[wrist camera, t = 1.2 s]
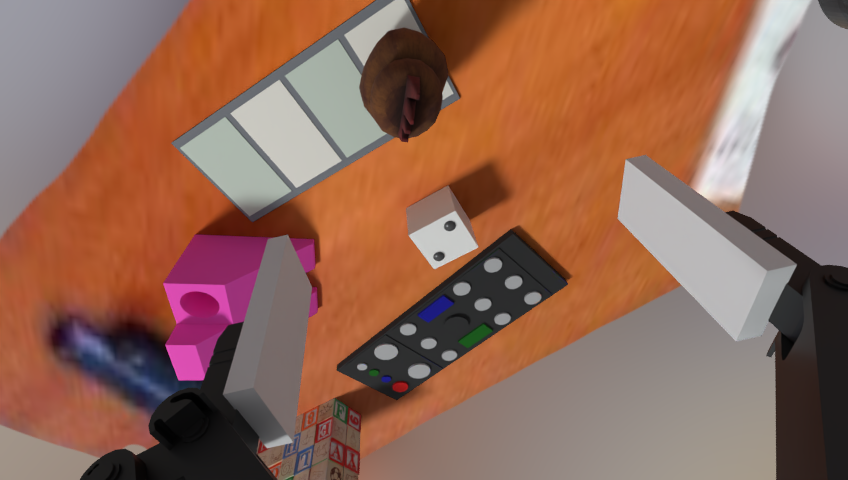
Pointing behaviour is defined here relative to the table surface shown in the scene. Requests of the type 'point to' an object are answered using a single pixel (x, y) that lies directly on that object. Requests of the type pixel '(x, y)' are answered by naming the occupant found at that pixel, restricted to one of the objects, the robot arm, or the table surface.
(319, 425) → the stack of blocks
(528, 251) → the remote control
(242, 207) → the game mat
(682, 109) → the table surface
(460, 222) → the die
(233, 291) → the bracket
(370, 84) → the wooden figurine
